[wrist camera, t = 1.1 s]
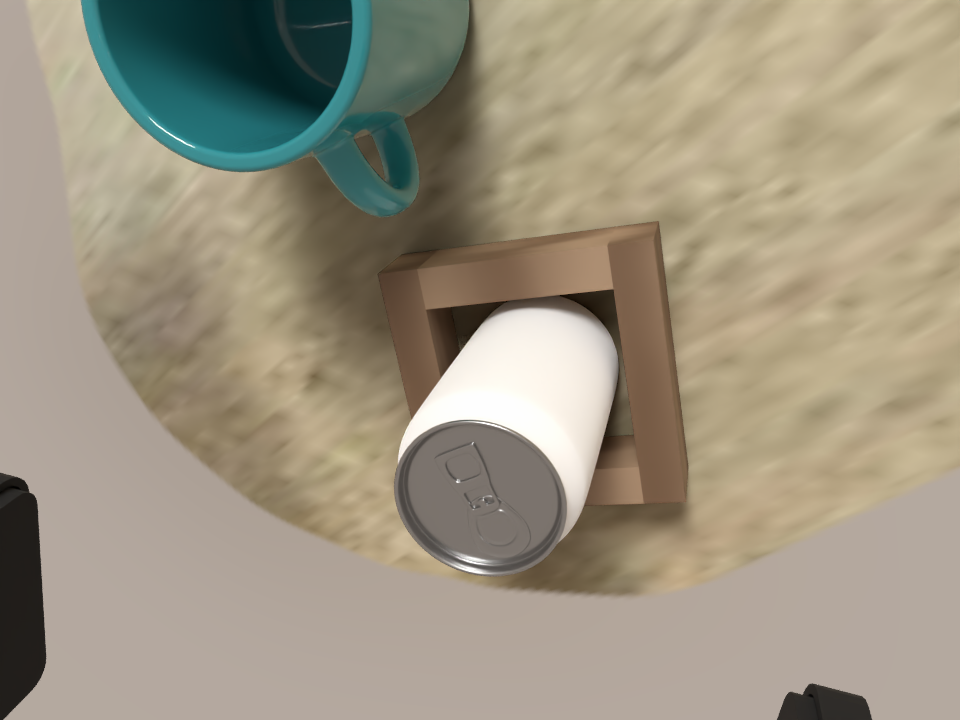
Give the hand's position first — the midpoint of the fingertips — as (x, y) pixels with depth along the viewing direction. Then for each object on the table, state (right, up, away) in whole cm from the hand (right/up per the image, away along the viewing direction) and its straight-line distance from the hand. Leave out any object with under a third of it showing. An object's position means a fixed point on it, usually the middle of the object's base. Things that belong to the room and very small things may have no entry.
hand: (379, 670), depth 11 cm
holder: (+4, +4, +28) cm, 28 cm away
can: (+4, +4, +28) cm, 29 cm away
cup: (-3, +16, +25) cm, 30 cm away
